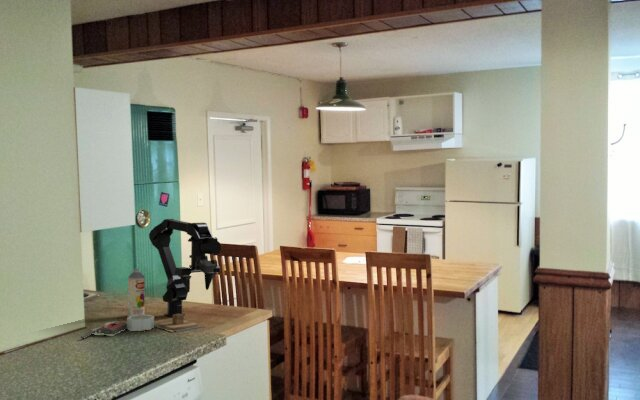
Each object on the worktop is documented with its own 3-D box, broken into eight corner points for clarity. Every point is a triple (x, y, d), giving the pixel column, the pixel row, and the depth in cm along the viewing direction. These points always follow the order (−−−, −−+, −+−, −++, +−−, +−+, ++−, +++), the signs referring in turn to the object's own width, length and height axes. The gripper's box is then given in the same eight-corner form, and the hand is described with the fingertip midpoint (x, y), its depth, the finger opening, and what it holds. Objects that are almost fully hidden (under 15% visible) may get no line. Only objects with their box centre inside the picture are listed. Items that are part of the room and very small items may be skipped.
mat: (154, 326, 221) (154, 325, 221) (183, 322, 230) (183, 321, 230) (172, 332, 212) (172, 331, 212) (201, 327, 221) (201, 326, 221)
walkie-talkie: (108, 328, 219) (78, 341, 199) (108, 317, 219) (78, 329, 199) (129, 329, 217) (101, 343, 198) (129, 318, 217) (102, 330, 198)
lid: (157, 325, 221) (158, 314, 221) (182, 321, 229) (182, 310, 229) (173, 330, 213) (173, 318, 213) (198, 326, 221) (198, 314, 221)
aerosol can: (136, 318, 235) (137, 270, 235) (123, 316, 238) (124, 269, 238) (147, 315, 241) (148, 268, 241) (135, 314, 244) (136, 267, 244)
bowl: (122, 328, 217) (122, 316, 217) (145, 324, 224) (145, 313, 224) (135, 333, 211) (135, 321, 211) (158, 329, 218) (158, 317, 217)
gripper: (190, 256, 222) (189, 296, 222) (228, 253, 236) (228, 290, 236) (174, 253, 230) (173, 292, 230) (212, 251, 243) (212, 287, 244)
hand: (197, 290), depth 235 cm, fingers open, 9 cm apart
